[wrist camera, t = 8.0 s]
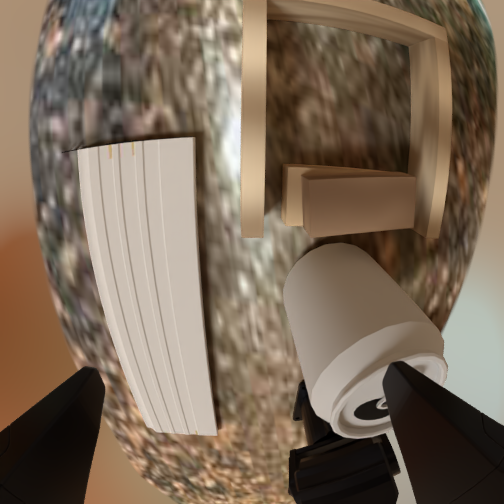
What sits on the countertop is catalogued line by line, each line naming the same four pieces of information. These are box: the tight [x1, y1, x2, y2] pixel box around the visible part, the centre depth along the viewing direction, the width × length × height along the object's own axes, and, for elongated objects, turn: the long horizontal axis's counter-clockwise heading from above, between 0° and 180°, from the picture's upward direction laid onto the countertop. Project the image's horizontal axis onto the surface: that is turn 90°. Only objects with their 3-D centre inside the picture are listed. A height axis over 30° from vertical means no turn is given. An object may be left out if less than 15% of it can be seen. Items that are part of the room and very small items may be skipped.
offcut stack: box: [281, 164, 416, 238], centre depth 17 cm, size 4×8×4 cm, turn 90°
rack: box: [241, 0, 452, 239], centre depth 15 cm, size 15×13×4 cm
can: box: [283, 243, 448, 439], centre depth 16 cm, size 8×8×12 cm
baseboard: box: [62, 137, 218, 436], centre depth 22 cm, size 30×3×10 cm
